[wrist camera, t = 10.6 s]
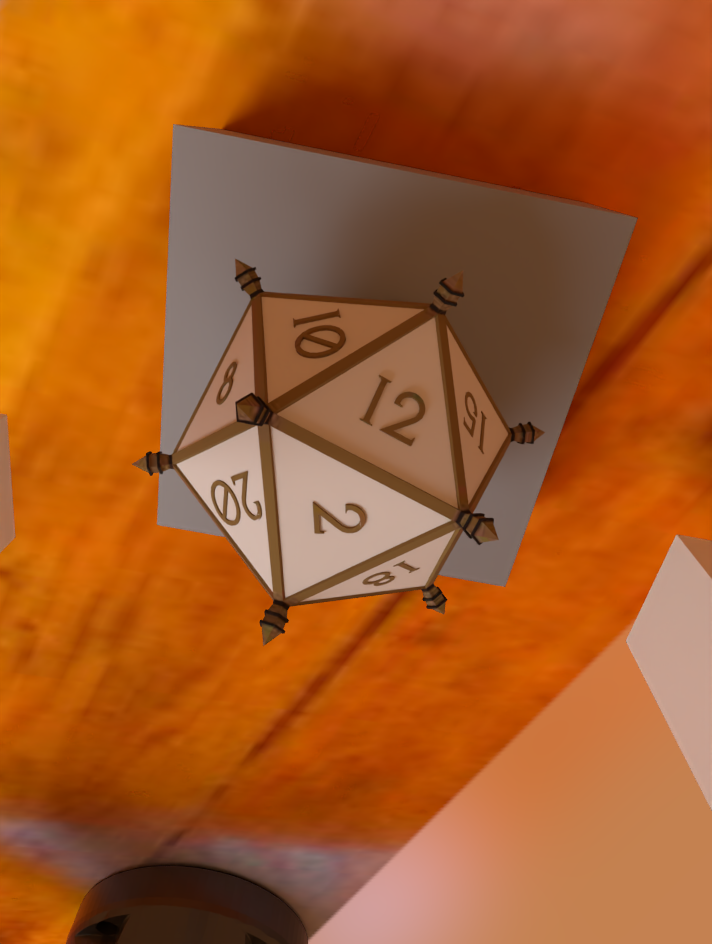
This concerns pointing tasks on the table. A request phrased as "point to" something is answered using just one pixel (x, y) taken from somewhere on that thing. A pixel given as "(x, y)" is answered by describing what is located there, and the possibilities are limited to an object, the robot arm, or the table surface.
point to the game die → (343, 445)
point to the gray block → (388, 289)
